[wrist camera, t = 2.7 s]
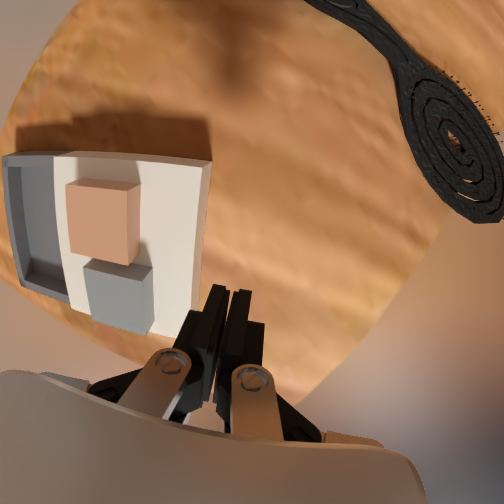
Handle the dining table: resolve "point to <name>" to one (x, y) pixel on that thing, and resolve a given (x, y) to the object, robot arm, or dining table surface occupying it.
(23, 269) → the tray
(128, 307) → the slate tile
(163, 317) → the board
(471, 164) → the hairbrush
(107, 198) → the terracotta tile
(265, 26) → the dining table surface
